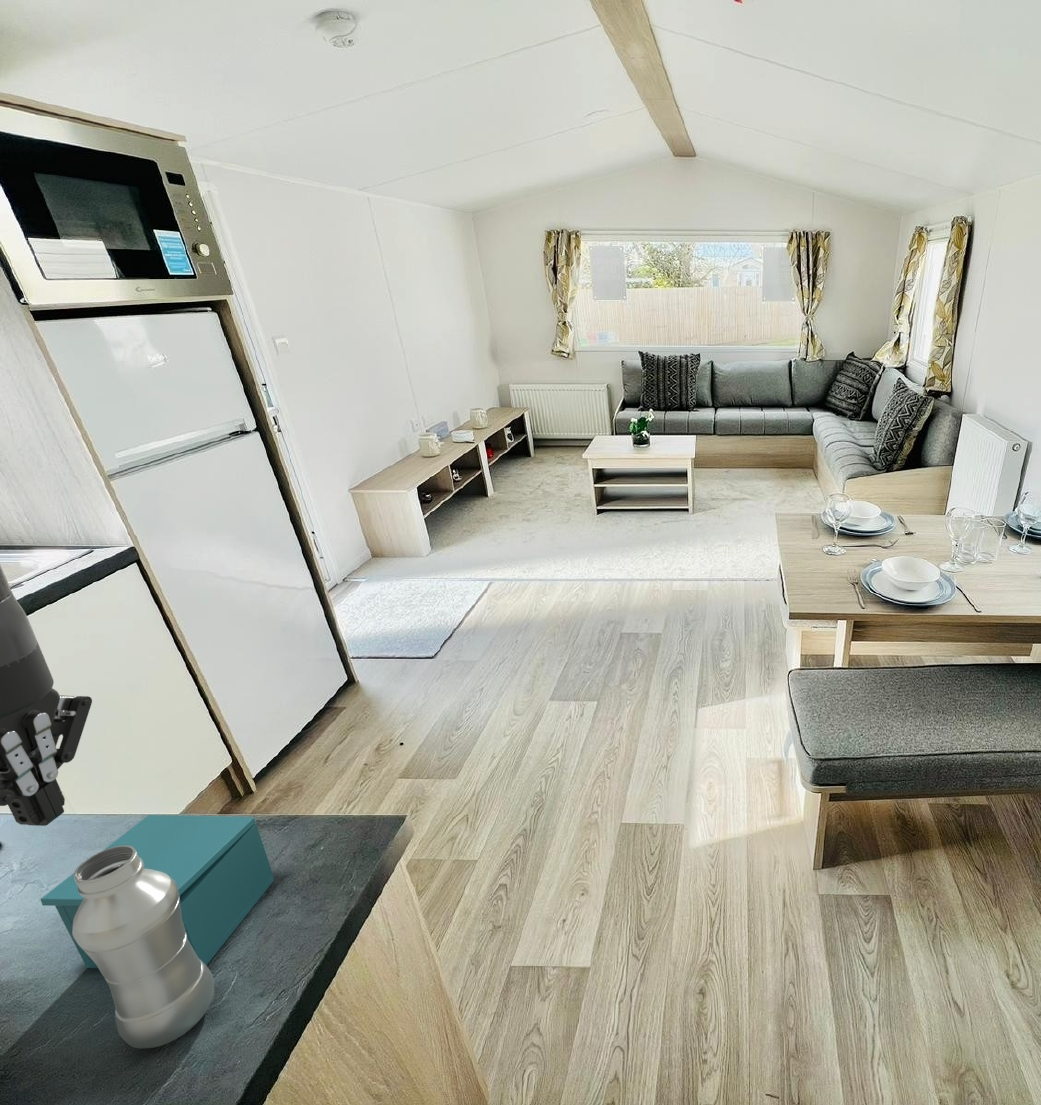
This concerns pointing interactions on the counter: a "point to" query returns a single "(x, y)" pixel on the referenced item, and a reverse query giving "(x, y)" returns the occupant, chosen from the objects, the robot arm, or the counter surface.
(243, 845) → the cool box
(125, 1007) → the silver metal bottle
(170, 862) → the cool box lid
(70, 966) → the counter surface
